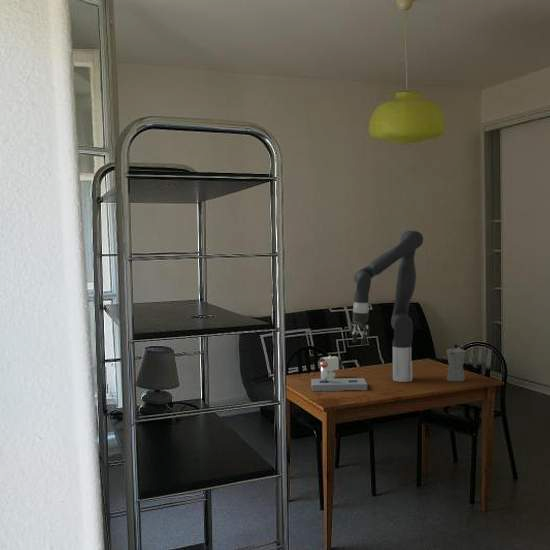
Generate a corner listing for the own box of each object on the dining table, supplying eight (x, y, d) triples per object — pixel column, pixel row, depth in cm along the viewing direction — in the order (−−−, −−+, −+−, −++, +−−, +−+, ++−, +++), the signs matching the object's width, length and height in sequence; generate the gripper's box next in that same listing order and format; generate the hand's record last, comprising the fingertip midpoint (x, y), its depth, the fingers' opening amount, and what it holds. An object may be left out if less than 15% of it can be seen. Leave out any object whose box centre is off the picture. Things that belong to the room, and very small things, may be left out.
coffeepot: (461, 384, 304) (461, 347, 302) (442, 381, 309) (442, 346, 308) (470, 377, 317) (470, 342, 315) (451, 375, 322) (451, 340, 320)
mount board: (364, 384, 308) (364, 378, 307) (367, 390, 296) (367, 384, 295) (311, 384, 308) (311, 378, 308) (312, 391, 296) (312, 385, 296)
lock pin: (328, 386, 304) (327, 361, 303) (328, 388, 300) (328, 363, 299) (319, 386, 304) (319, 361, 303) (320, 389, 300) (319, 363, 299)
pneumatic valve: (342, 378, 320) (342, 355, 319) (321, 380, 316) (320, 357, 316) (338, 376, 325) (337, 353, 324) (317, 378, 322) (316, 355, 321)
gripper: (374, 313, 303) (373, 346, 304) (360, 309, 316) (358, 341, 317) (361, 313, 300) (359, 346, 301) (347, 309, 314) (345, 341, 315)
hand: (359, 343), depth 309 cm, fingers open, 8 cm apart
